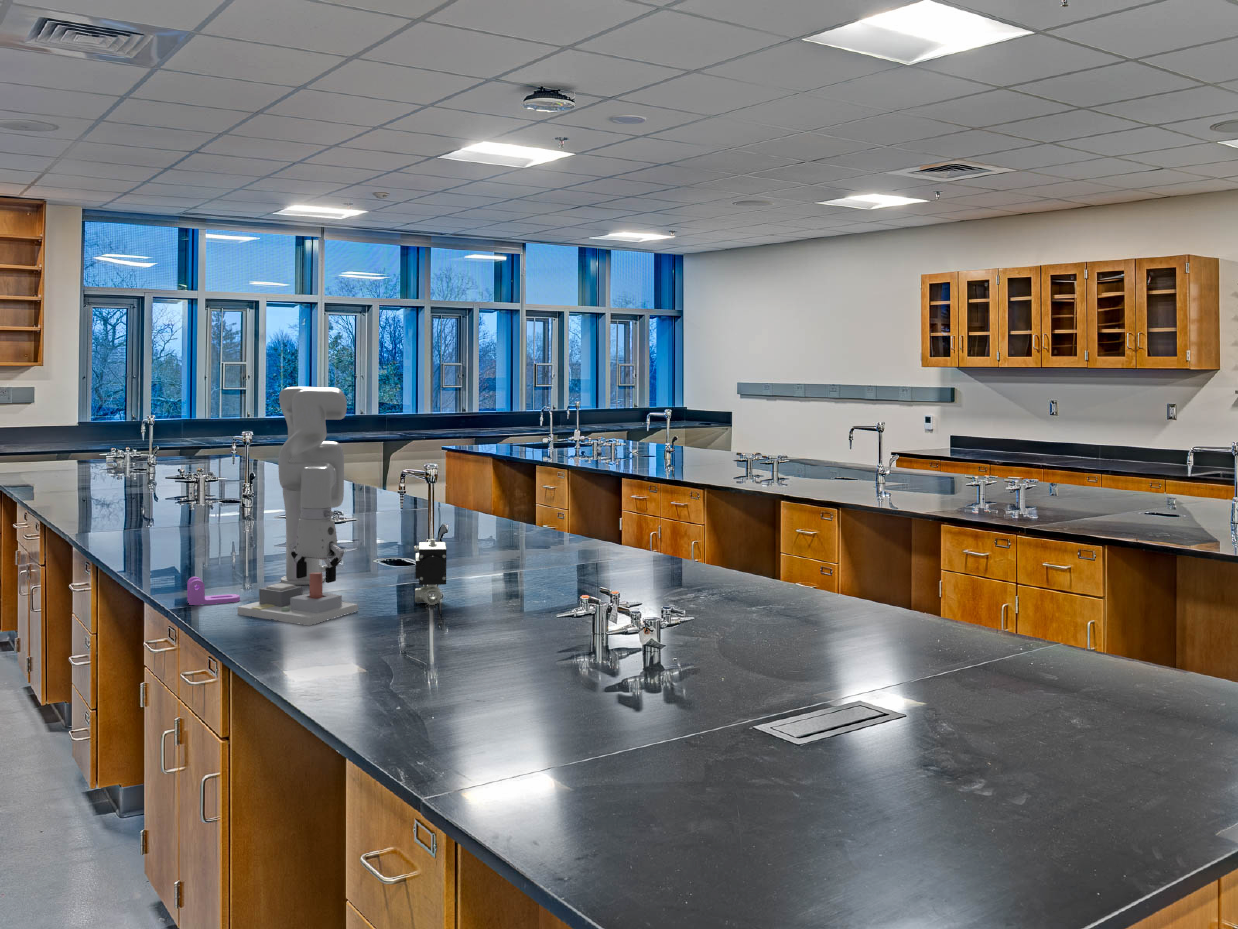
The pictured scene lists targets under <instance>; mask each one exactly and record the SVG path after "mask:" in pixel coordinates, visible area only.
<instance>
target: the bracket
mask: <svg viewBox="0 0 1238 929" xmlns="http://www.w3.org/2000/svg"><path fill="white" fill-rule="evenodd" d="M186 584H187V585H186V587H187V588H186V592H187V593H186V596H187V597H186V598H187V600H186V601H188V602H187V604H188V603H189V604H188V606H189V605H198V606H201V605H200V604H210V605H217V604H216V603H223V604H228V603H227V602H234V603H238V602H240V601H241V596H240V595H239V594H235V593H231V594H230V593H228V594H227V593H226V594H217V595H216V594H215V595H214V594H213V595H205V594H206V593H205V592H206V591H205V590H206V588H205V584H204V582H203V580H202V578H200V577H198V576H191V577H190V578H188V580H187V582H186Z"/></svg>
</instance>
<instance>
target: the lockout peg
mask: <svg viewBox="0 0 1238 929" xmlns="http://www.w3.org/2000/svg"><path fill="white" fill-rule="evenodd" d="M322 576H323V572H322V573H320V572H314V573H310V584H309V593H310V598H314V599H319V598H322V593H323V582H322Z"/></svg>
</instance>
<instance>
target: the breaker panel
mask: <svg viewBox="0 0 1238 929" xmlns="http://www.w3.org/2000/svg"><path fill="white" fill-rule="evenodd" d="M258 599H259V600H258V601H255V602H251V603H248V604H242V605H239V606H237V615H240V616H246V617H251V616H252V617H254V618H258V619H265V620H271V619H274V620H273V621H277V620H279V622H284V623H290V624H296V623H300V624H299V625H302V624H305V625H304V626H309V625H310V626H313V625H312V624H314V625H316V624H315V623H317V624H320V622H321V623H324V622H326V621H325V620H327V619H331V620H333V619H332V618H334V617H337V616H341V615H344V614H347V613H351V614H353V613H352V612H354V611H357V610H358V611H359V609H358V608H359V606H358V605H359V604H358V603H353V602H347V601H346V602H345V601H343V600H342V599H343V595H341V594H334V593H328V592H322V598H319V599H314V598H310V592H309V593H305V594H303V586H300V585H295V588H291V589H287V590H283V591H279V590H272V589H267V586H266V587H260V588H259V589H258ZM341 617H342V616H341ZM334 619H335V618H334ZM323 621H324V622H323ZM327 621H328V620H327Z"/></svg>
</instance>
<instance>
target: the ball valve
mask: <svg viewBox="0 0 1238 929" xmlns="http://www.w3.org/2000/svg"><path fill="white" fill-rule="evenodd" d="M435 540H436V539H434V538H430V541H419V543H418V545H414V546H413V547H414V548H413V549H414V550H413V551H414V552H415V572H414V573H415V580H418V585H419V586H420V587H419V588H414V601H415V603H420V602H425V603H428V604H429V605H428V604H427V605H428V606H430V605H434V606H436V605H435V604H437V603H438V604H439V603H440V602H441V598H442V596H441V595H442V592H441V588H440V587H439V586H441V585H442V586H443V585H445V586H446V585H447V544H446V541H435ZM438 604H437V605H438Z"/></svg>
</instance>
